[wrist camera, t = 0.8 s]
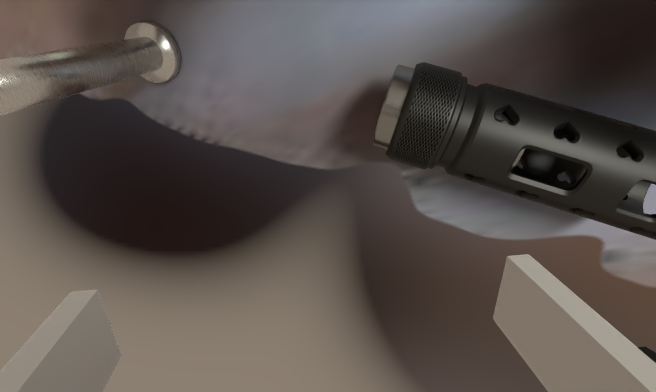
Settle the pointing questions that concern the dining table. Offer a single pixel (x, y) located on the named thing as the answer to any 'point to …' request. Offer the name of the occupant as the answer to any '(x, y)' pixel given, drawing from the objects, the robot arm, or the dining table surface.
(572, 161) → the muzzle brake
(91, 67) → the stanchion posts
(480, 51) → the dining table surface
